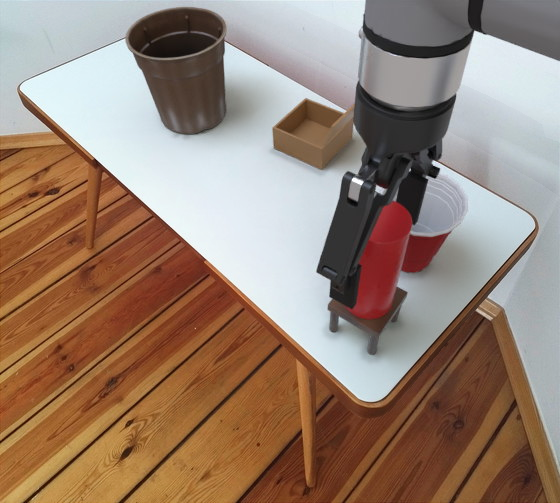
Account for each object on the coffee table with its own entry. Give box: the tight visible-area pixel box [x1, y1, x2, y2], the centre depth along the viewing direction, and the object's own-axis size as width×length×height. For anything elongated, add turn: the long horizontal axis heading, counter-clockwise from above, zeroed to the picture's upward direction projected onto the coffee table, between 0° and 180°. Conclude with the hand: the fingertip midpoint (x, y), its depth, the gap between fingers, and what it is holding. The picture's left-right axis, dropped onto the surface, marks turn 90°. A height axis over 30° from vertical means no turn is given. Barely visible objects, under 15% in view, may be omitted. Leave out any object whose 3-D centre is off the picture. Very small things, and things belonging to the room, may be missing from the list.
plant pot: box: [124, 6, 228, 135], centre depth 89 cm, size 16×16×16 cm
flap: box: [322, 102, 355, 146], centre depth 81 cm, size 5×10×1 cm
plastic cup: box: [379, 169, 469, 274], centre depth 68 cm, size 11×11×12 cm
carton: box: [272, 97, 354, 171], centre depth 87 cm, size 10×10×4 cm
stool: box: [327, 286, 409, 356], centre depth 64 cm, size 7×7×6 cm
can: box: [345, 201, 412, 319], centre depth 56 cm, size 6×6×14 cm
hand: (375, 257), depth 55 cm, fingers open, 13 cm apart
